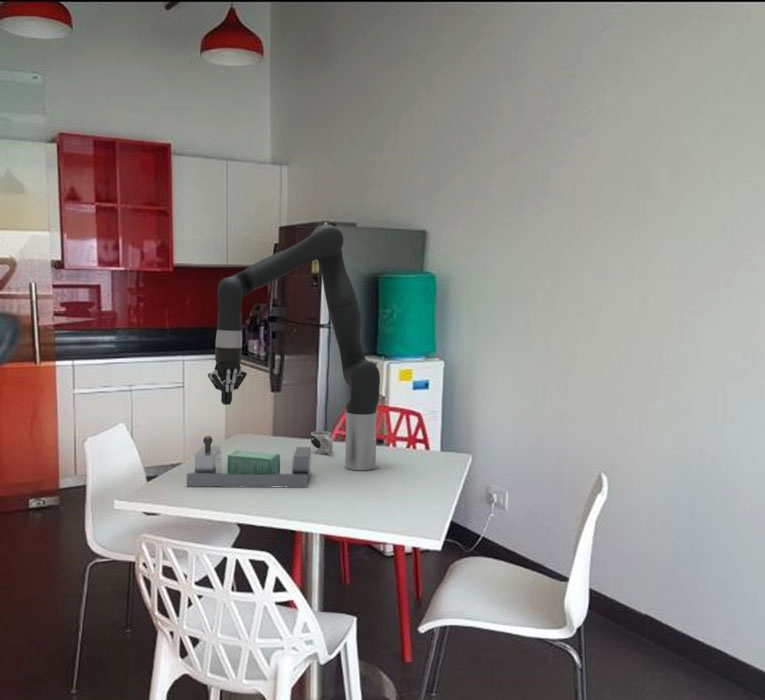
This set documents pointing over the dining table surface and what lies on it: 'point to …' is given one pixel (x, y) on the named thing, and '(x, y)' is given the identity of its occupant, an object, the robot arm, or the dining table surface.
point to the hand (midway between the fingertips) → (226, 404)
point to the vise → (259, 475)
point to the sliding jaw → (208, 458)
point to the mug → (321, 442)
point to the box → (253, 462)
